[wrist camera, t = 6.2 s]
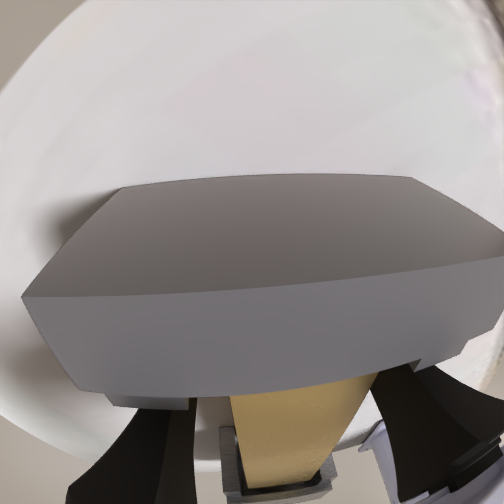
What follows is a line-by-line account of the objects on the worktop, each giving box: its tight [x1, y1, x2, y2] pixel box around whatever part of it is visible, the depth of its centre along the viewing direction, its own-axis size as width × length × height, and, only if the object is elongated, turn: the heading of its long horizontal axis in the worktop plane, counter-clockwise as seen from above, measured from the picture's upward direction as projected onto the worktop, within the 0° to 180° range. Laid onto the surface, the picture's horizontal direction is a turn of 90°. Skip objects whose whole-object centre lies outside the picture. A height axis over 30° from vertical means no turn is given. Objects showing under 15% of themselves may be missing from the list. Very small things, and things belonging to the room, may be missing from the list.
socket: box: [21, 174, 504, 410], centre depth 7 cm, size 10×4×6 cm, turn 91°
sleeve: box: [219, 427, 337, 504], centre depth 15 cm, size 7×7×6 cm
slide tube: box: [230, 372, 378, 489], centre depth 11 cm, size 4×15×4 cm, turn 1°
